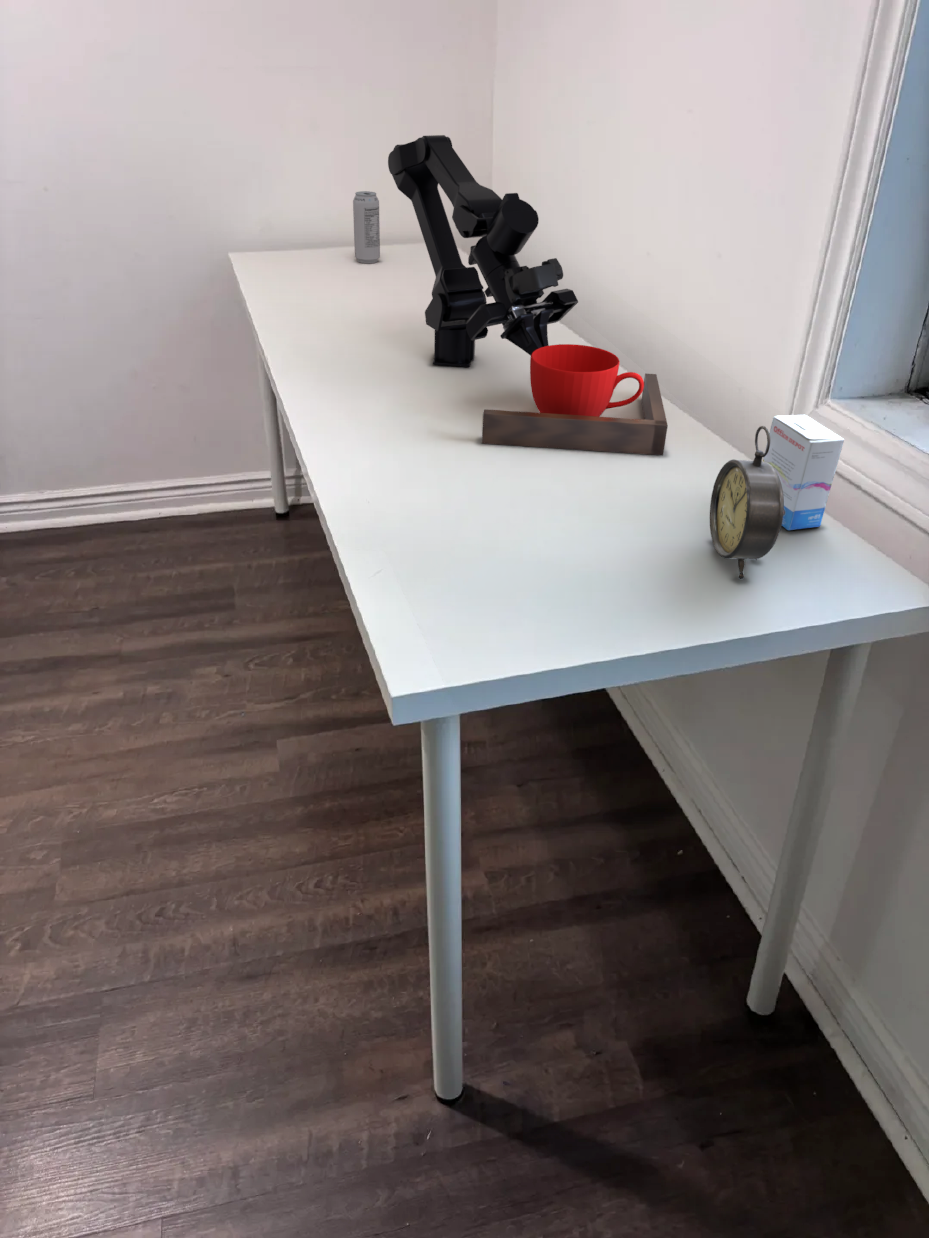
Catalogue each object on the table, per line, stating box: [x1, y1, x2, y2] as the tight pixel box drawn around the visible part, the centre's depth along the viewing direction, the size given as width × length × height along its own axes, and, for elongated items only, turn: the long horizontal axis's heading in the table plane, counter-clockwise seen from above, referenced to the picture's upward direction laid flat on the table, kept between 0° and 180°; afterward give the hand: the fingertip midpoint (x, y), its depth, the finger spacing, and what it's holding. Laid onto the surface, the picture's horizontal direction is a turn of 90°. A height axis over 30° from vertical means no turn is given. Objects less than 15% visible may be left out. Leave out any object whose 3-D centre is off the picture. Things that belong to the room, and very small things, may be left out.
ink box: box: [762, 414, 845, 531], centre depth 116 cm, size 9×5×12 cm, turn 17°
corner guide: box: [481, 372, 668, 456], centre depth 143 cm, size 26×22×4 cm
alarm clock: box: [709, 425, 784, 580], centre depth 105 cm, size 11×5×16 cm, turn 5°
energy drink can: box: [352, 190, 381, 264], centre depth 222 cm, size 6×6×15 cm
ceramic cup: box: [529, 343, 644, 417], centre depth 140 cm, size 13×17×10 cm
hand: (546, 362), depth 144 cm, fingers closed
